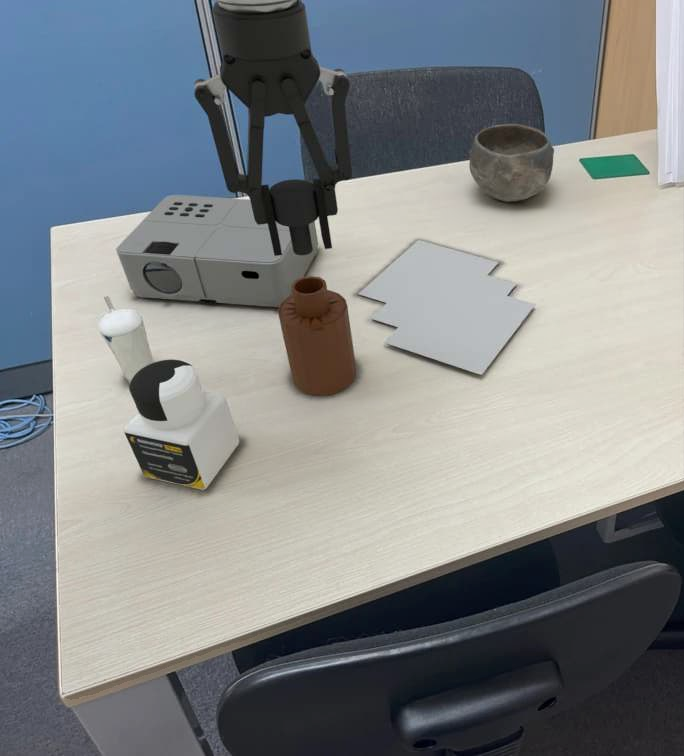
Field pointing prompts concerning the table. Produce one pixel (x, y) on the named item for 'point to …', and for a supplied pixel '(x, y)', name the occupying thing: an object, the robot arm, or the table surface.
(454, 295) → the paper stack
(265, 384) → the table surface
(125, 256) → the projector
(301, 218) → the stopper
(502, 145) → the bowl
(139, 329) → the milkshake
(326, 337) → the bottle
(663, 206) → the table surface
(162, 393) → the medicine bottle
